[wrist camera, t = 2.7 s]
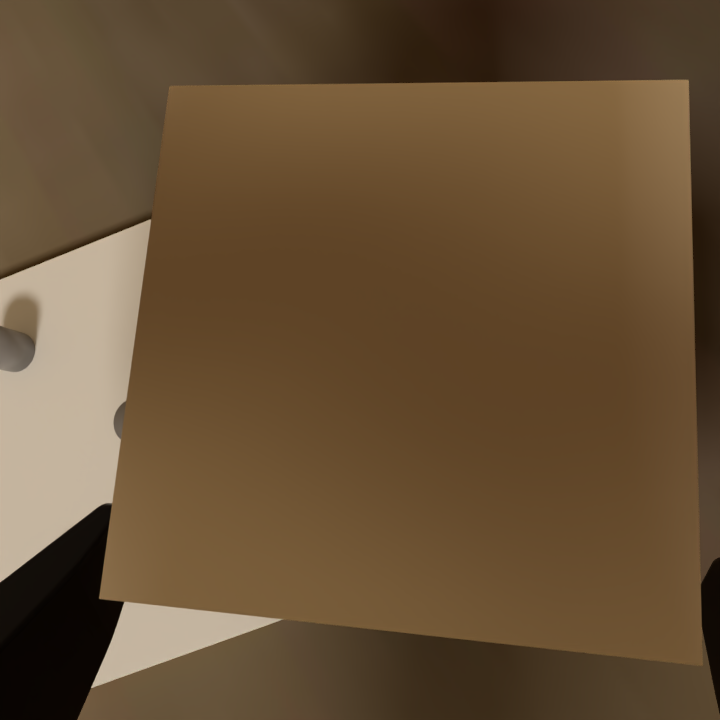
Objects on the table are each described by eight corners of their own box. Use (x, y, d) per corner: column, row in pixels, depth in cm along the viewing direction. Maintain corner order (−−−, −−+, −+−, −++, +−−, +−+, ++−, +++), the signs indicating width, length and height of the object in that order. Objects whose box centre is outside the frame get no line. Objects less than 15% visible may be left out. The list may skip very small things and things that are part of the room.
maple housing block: (498, 511, 18) (702, 666, 5) (337, 498, 19) (98, 599, 5) (503, 351, 19) (688, 79, 5) (349, 344, 20) (169, 86, 6)
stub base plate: (315, 601, 18) (295, 625, 16) (-75, 740, 19) (-159, 786, 16) (193, 221, 21) (158, 186, 19) (-143, 356, 22) (-224, 341, 19)
